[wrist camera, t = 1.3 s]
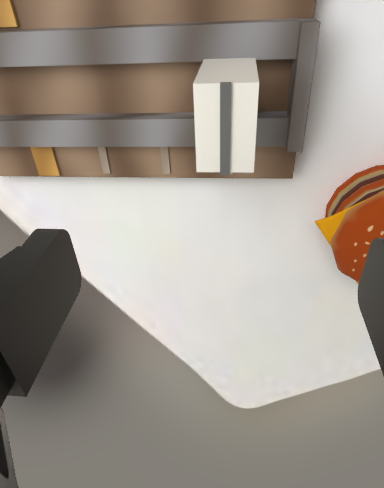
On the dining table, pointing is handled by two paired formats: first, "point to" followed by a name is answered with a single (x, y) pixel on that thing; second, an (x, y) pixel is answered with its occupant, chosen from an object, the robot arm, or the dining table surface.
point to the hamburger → (355, 219)
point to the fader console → (144, 83)
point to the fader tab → (226, 115)
